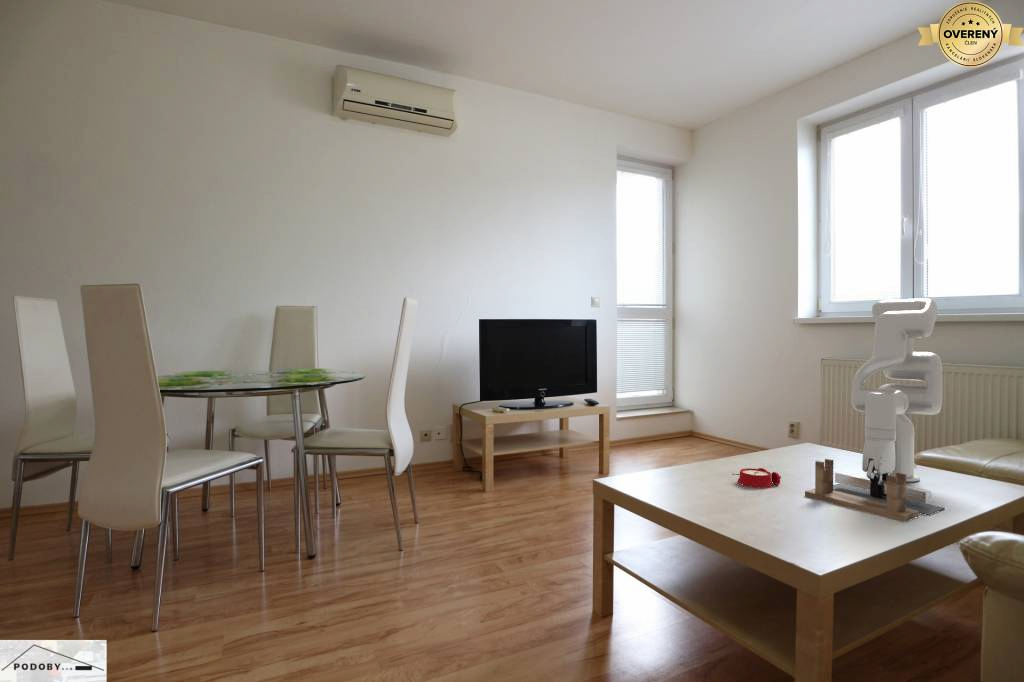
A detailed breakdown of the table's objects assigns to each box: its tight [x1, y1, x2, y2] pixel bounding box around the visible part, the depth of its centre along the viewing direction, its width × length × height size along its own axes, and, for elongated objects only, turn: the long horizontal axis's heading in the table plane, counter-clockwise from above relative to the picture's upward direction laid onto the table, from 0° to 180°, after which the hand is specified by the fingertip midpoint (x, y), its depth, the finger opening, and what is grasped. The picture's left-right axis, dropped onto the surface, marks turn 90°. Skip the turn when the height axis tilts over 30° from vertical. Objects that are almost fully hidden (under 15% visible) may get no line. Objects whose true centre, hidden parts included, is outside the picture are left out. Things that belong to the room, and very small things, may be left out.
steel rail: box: [834, 471, 932, 504], centre depth 157 cm, size 3×24×3 cm, turn 31°
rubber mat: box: [833, 483, 945, 516], centre depth 157 cm, size 10×28×1 cm, turn 31°
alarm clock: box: [732, 467, 782, 489], centre depth 174 cm, size 10×6×15 cm
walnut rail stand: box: [804, 458, 920, 523], centre depth 151 cm, size 8×26×11 cm, turn 31°
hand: (879, 495), depth 157 cm, fingers closed on steel rail, 3 cm apart
